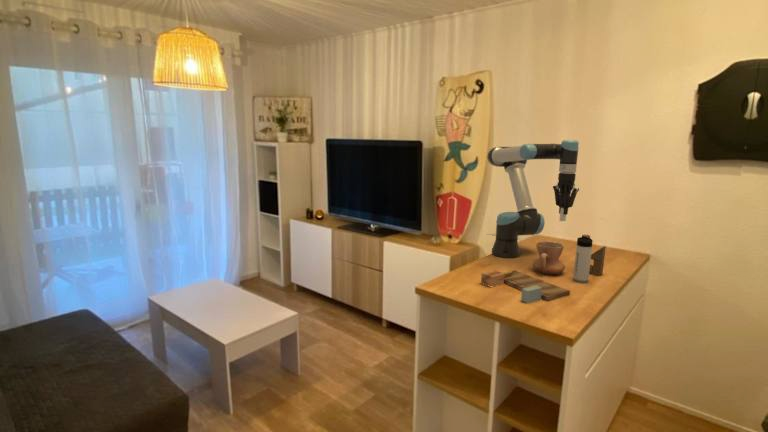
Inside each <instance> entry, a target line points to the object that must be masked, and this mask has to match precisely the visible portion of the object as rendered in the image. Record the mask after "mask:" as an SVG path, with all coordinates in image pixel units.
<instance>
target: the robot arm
mask: <svg viewBox="0 0 768 432" xmlns="http://www.w3.org/2000/svg"><path fill="white" fill-rule="evenodd" d="M578 154H579V141H578V140H573V139H572V140H571V139H567V140H566V139H564V140H562V141H561V143H524V144H522V145H518V146H495V147H492V148H491V149H489V151H488V153H487V155H486V157H487V161H488V163H489V164H490V165H492V166H494V167H501V168H502V167H503V169H504V172H505V173H507V174H508V178H509V181H510V184H511V185H510V186H511V190H512V192H513V196H514V201H515V205H516V209H517V210H516V211H506V212H500V213H499V214H498V215H497V216H496V217H497V218H496V228H495V230H496V231H495V240H494V243H493V247H492V248H491V255H493V256H495V257H499V258H503V259H506V258H507V259H515V258H518V257H519V258H520V256H521V250H520V248H519V243H518V239H519V236H534V235H539V234H541V233H542V232H543V230H544V227H545V223H546V221H545V217H544V215H542V213H540V212H539V213H538V209H537V208H536V207H534V205H533V203H532V202H533V201H532V197H531V194H530V190H529V185H528V183H527V178H526V175H525V172H524V171H525V167H526V165H527V162H528V161H529V160H559V166H558V172H559V173H558V175H557V181H558V182H557V183H556V184H555V185H553V186H552V188H553V189H552V190H554V191H553V192H554V200H555V205H556V206H558V207H559V208H558V214H559V221H560V222H565V221H567V219H566V218H567V215H568V214H569V213H568V212H569V208H572V207H573V206H574V202H575V199H576V197H577V194H578V192H579V191H580V188H578V187H576V184H575V181H576V173H577V163H578V156H579V155H578Z"/></svg>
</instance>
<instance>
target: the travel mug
mask: <svg viewBox="0 0 768 432" xmlns="http://www.w3.org/2000/svg"><path fill="white" fill-rule="evenodd" d="M593 242H594V241H593V239H592V238H591V237H590V238H586V237H583V236H582V235H581V236H580V237H577V241H576V249H575V260H574V267H573V268H574V269H573V276H572V279H573V281H574V282H576V283H580V284H583V283H584V284H586V283H588V282H589V279H590V277H589V276H590V273H589V270H590V265H591V260H592V259H591V255H592V251H593V250H592V249H593Z"/></svg>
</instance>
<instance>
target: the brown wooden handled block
mask: <svg viewBox="0 0 768 432" xmlns="http://www.w3.org/2000/svg"><path fill="white" fill-rule="evenodd" d="M512 271H513V270H510V271H509V270H508V271H505V273H504V272H501V271H498V270H496V269H493V270H488V271H483V272H481V275H480V276H481V279H480V283H481V282H482V283H484V284H486V285H489V286H495V287H497V286H496V285H499V286H502V285H501V284H503V285H505V284H504V277H505V276H509V275H513V272H512ZM482 283H481V284H482ZM484 284H483V285H484ZM486 285H485V286H486Z"/></svg>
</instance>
